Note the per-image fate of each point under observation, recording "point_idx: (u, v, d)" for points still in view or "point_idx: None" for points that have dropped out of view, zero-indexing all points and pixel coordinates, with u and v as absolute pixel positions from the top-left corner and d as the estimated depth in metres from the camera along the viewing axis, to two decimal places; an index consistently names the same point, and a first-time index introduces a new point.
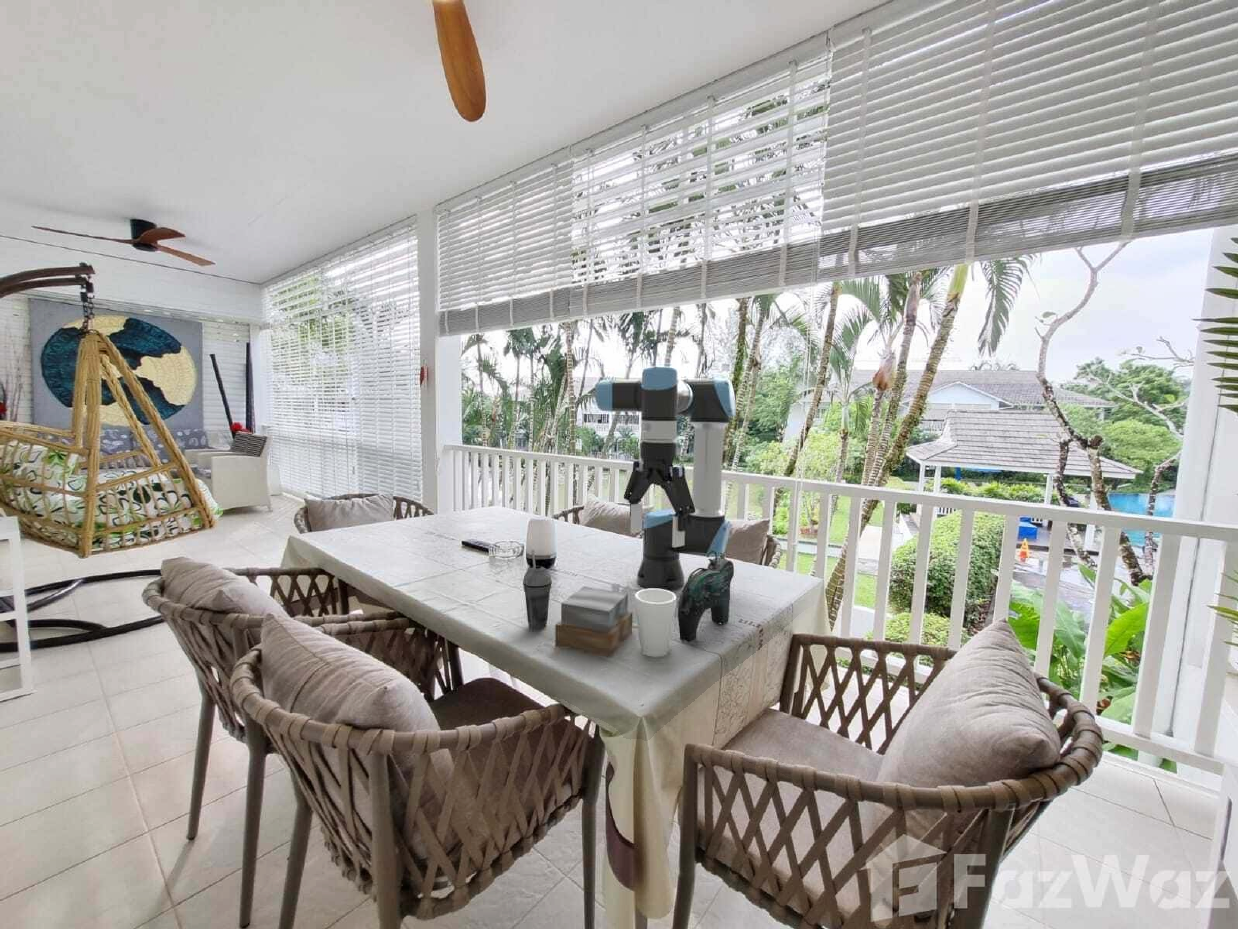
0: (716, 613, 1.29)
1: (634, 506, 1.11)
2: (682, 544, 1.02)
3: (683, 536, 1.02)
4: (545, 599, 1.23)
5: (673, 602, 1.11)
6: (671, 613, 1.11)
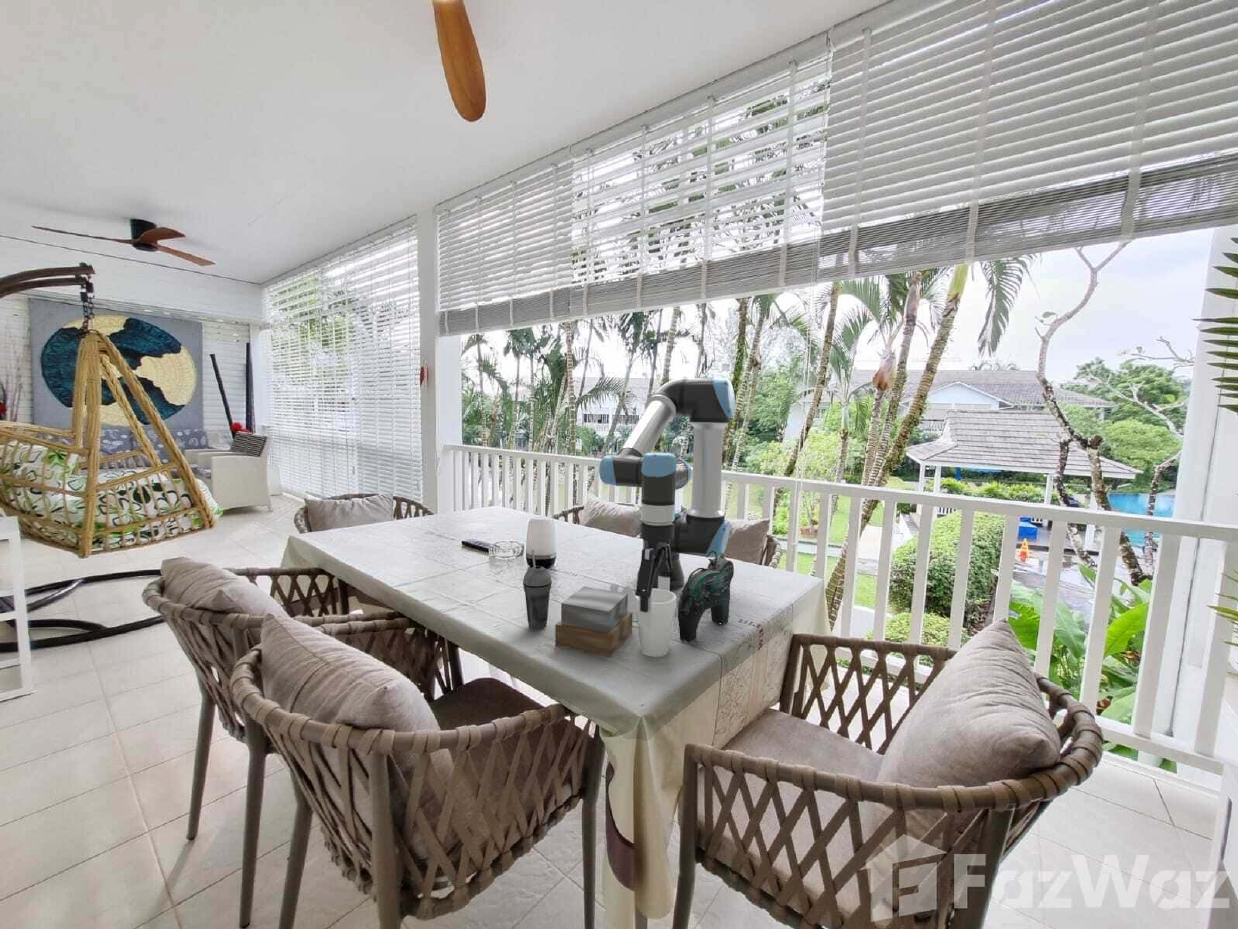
0: (716, 613, 1.29)
1: (659, 578, 1.19)
2: (648, 624, 1.06)
3: (649, 617, 1.06)
4: (545, 599, 1.23)
5: (673, 602, 1.11)
6: (671, 613, 1.11)
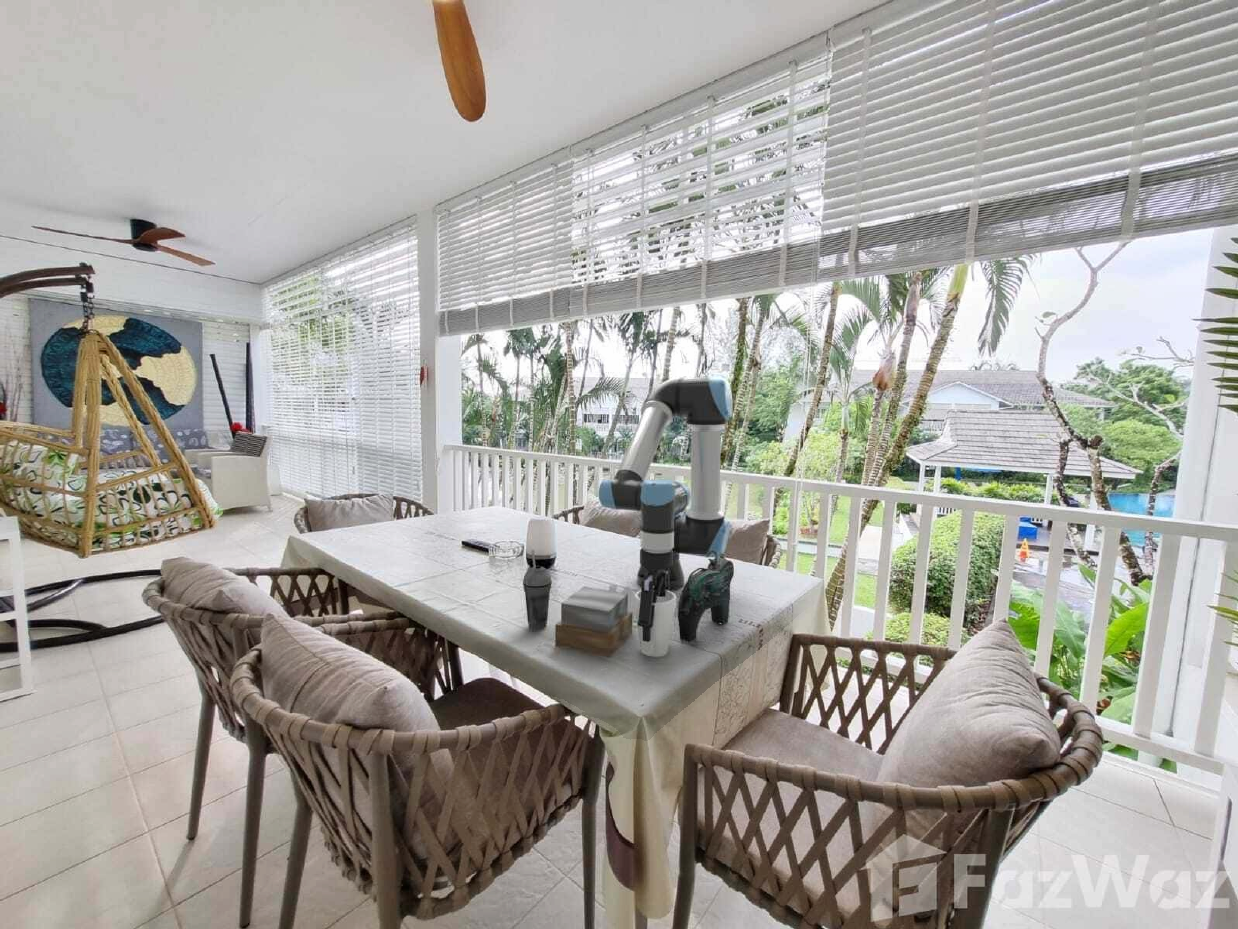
0: (716, 613, 1.29)
1: None
2: (650, 653, 1.09)
3: (651, 646, 1.09)
4: (545, 599, 1.23)
5: (673, 602, 1.11)
6: (671, 613, 1.11)
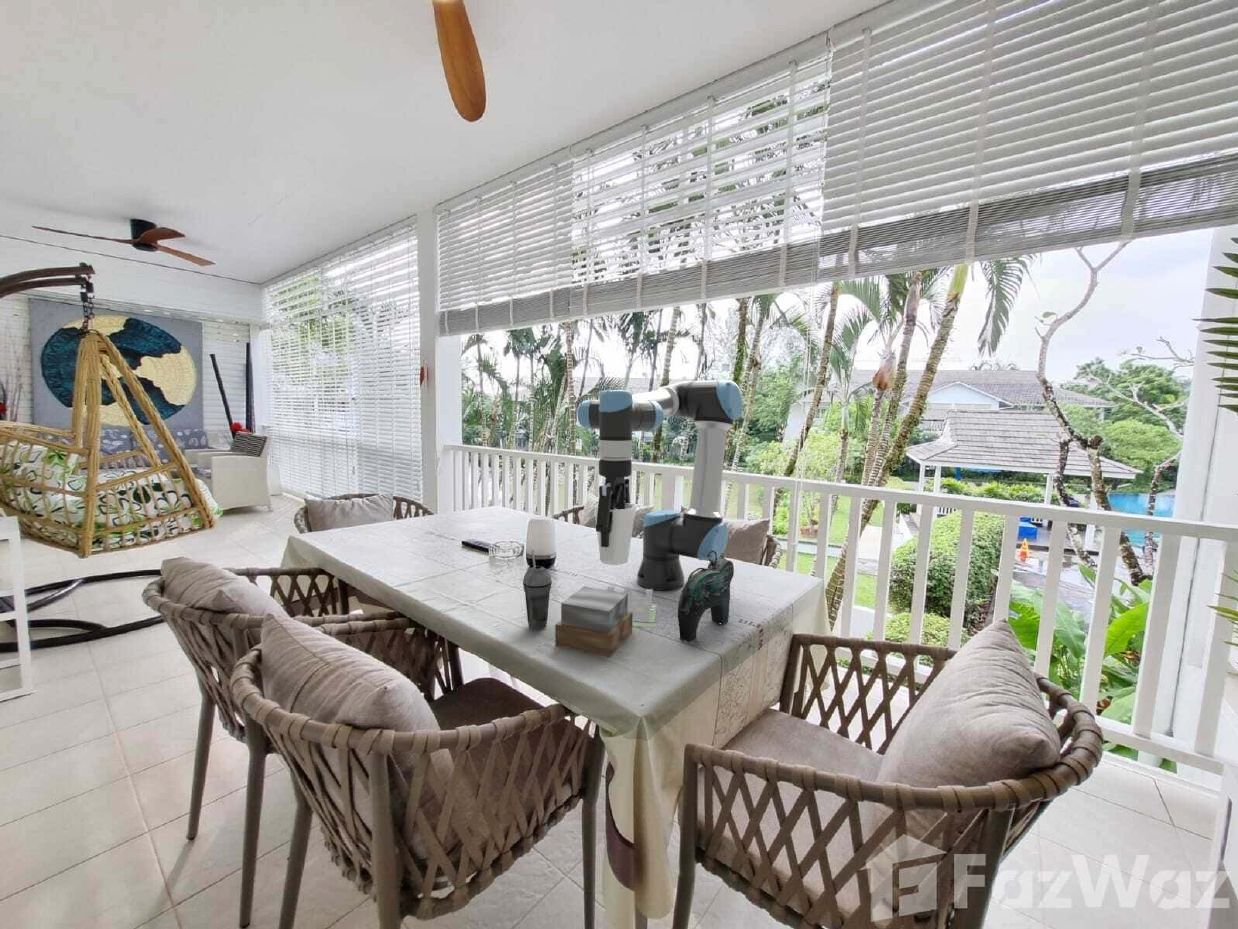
0: (716, 613, 1.29)
1: None
2: (609, 559, 1.11)
3: (610, 552, 1.10)
4: (545, 599, 1.23)
5: (631, 510, 1.12)
6: (630, 521, 1.12)
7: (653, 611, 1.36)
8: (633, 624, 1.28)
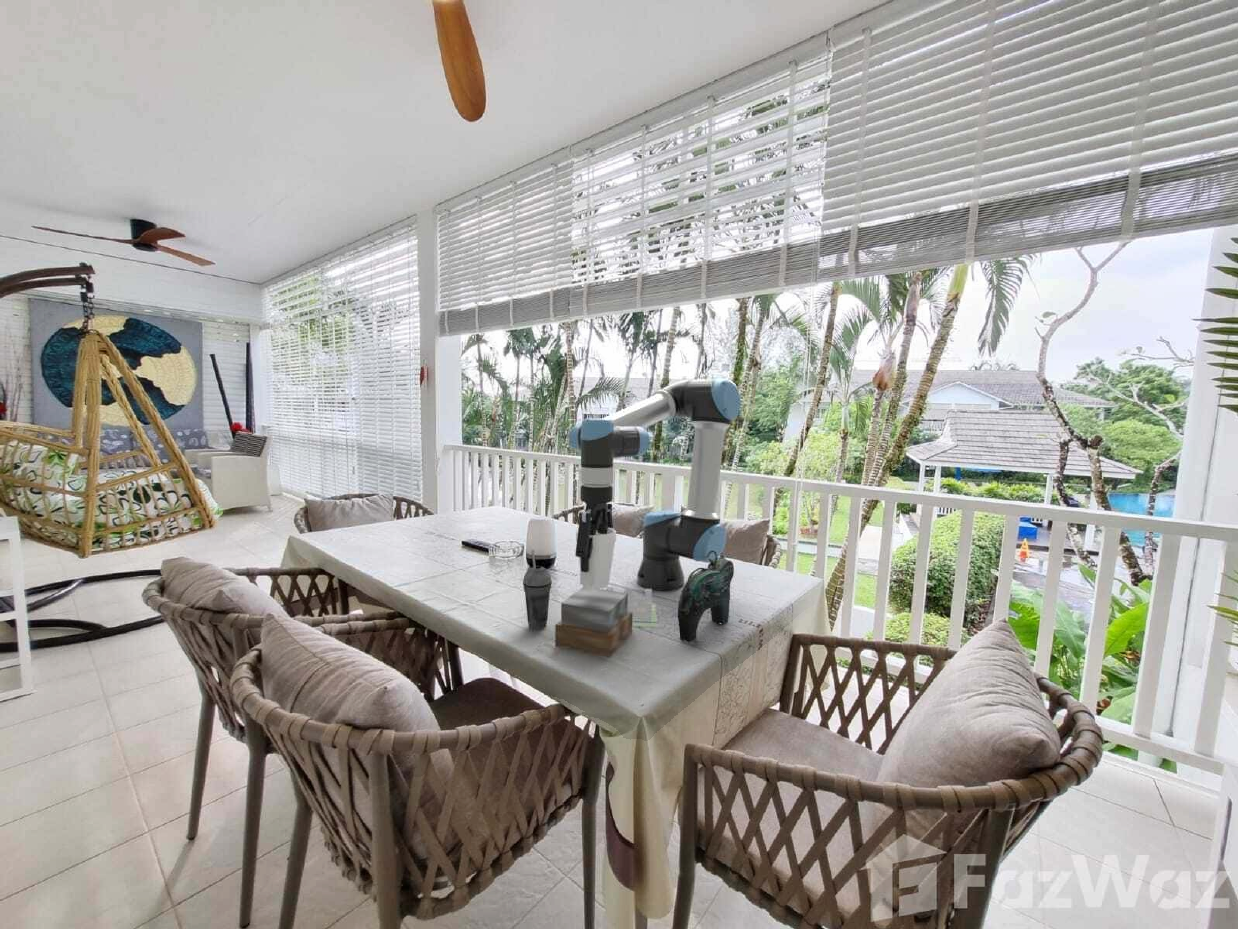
0: (716, 613, 1.29)
1: None
2: (588, 584, 1.13)
3: (589, 577, 1.13)
4: (545, 599, 1.23)
5: (611, 535, 1.15)
6: (610, 546, 1.15)
7: (653, 611, 1.37)
8: (636, 624, 1.28)
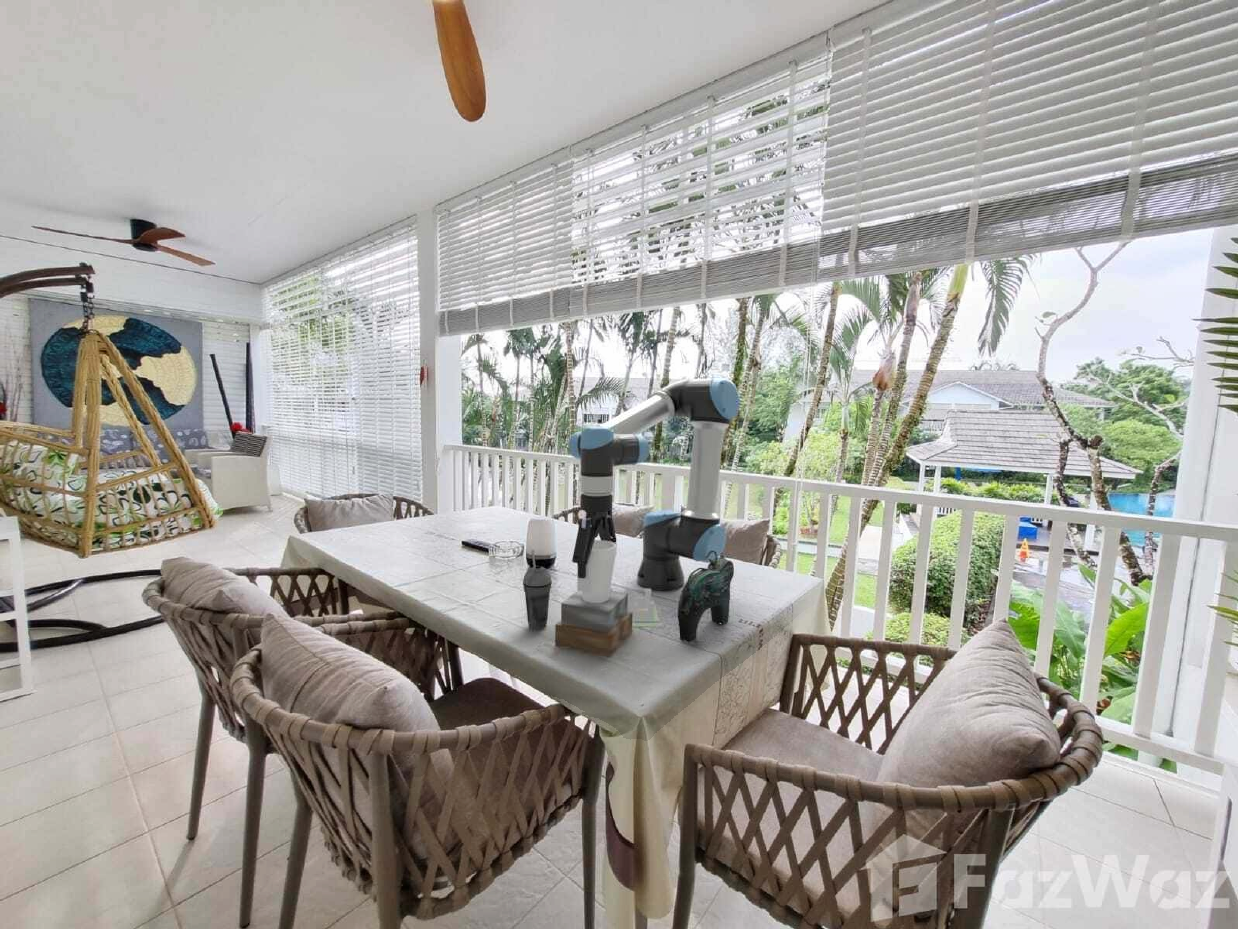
0: (716, 613, 1.29)
1: None
2: (586, 590, 1.12)
3: (586, 583, 1.11)
4: (545, 599, 1.23)
5: (612, 550, 1.15)
6: (610, 561, 1.15)
7: (653, 610, 1.37)
8: (639, 625, 1.28)
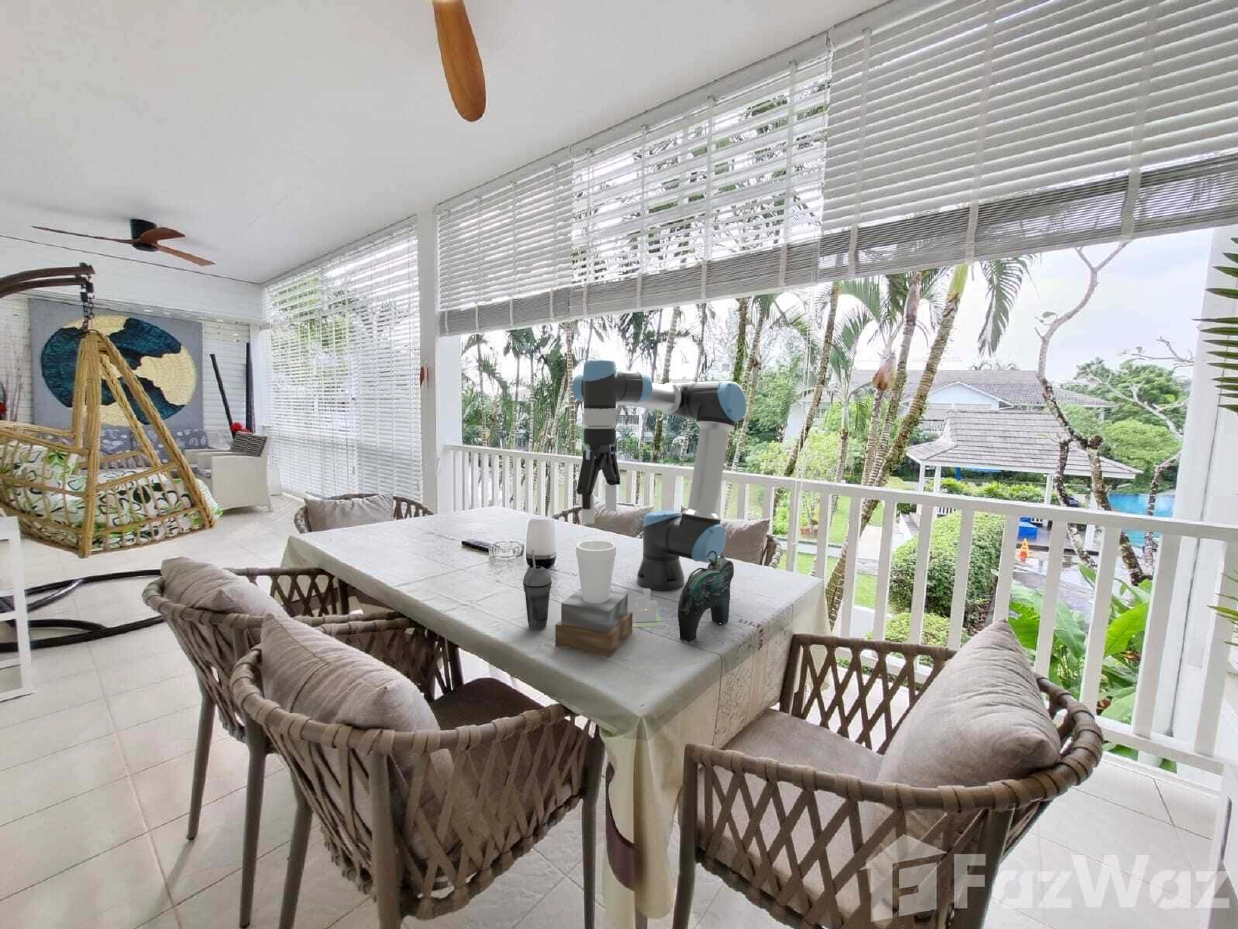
0: (716, 613, 1.29)
1: (606, 486, 1.24)
2: (590, 522, 1.12)
3: (591, 515, 1.11)
4: (545, 599, 1.23)
5: (611, 550, 1.15)
6: (610, 561, 1.15)
7: None
8: (643, 625, 1.28)
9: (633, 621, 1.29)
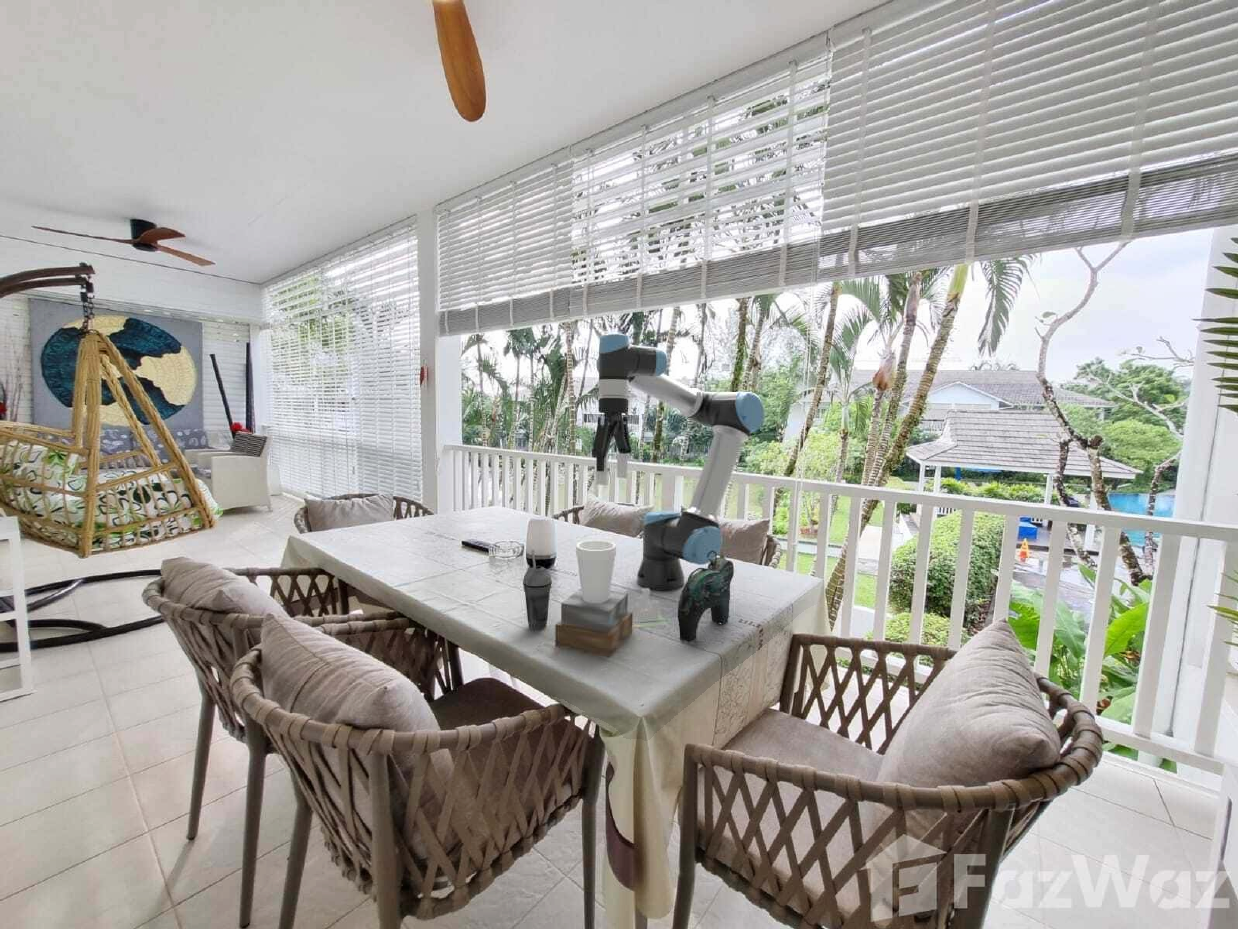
0: (716, 613, 1.29)
1: (618, 454, 1.33)
2: (604, 483, 1.20)
3: (605, 477, 1.20)
4: (545, 599, 1.23)
5: (612, 550, 1.15)
6: (610, 561, 1.15)
7: None
8: (646, 625, 1.28)
9: (636, 622, 1.29)
